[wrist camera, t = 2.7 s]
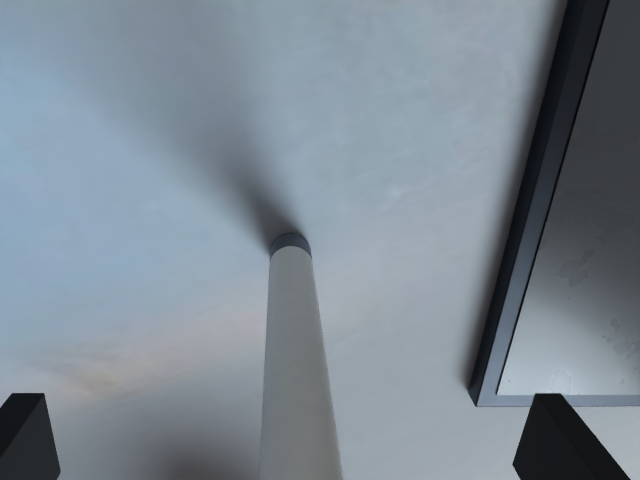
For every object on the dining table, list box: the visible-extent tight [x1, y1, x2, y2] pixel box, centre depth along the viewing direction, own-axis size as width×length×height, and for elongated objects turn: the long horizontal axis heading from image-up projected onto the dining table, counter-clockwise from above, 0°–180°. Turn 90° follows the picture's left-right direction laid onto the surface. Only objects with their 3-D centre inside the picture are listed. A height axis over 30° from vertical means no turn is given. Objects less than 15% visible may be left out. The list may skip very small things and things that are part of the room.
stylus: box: [259, 233, 343, 480], centre depth 16 cm, size 2×2×14 cm
